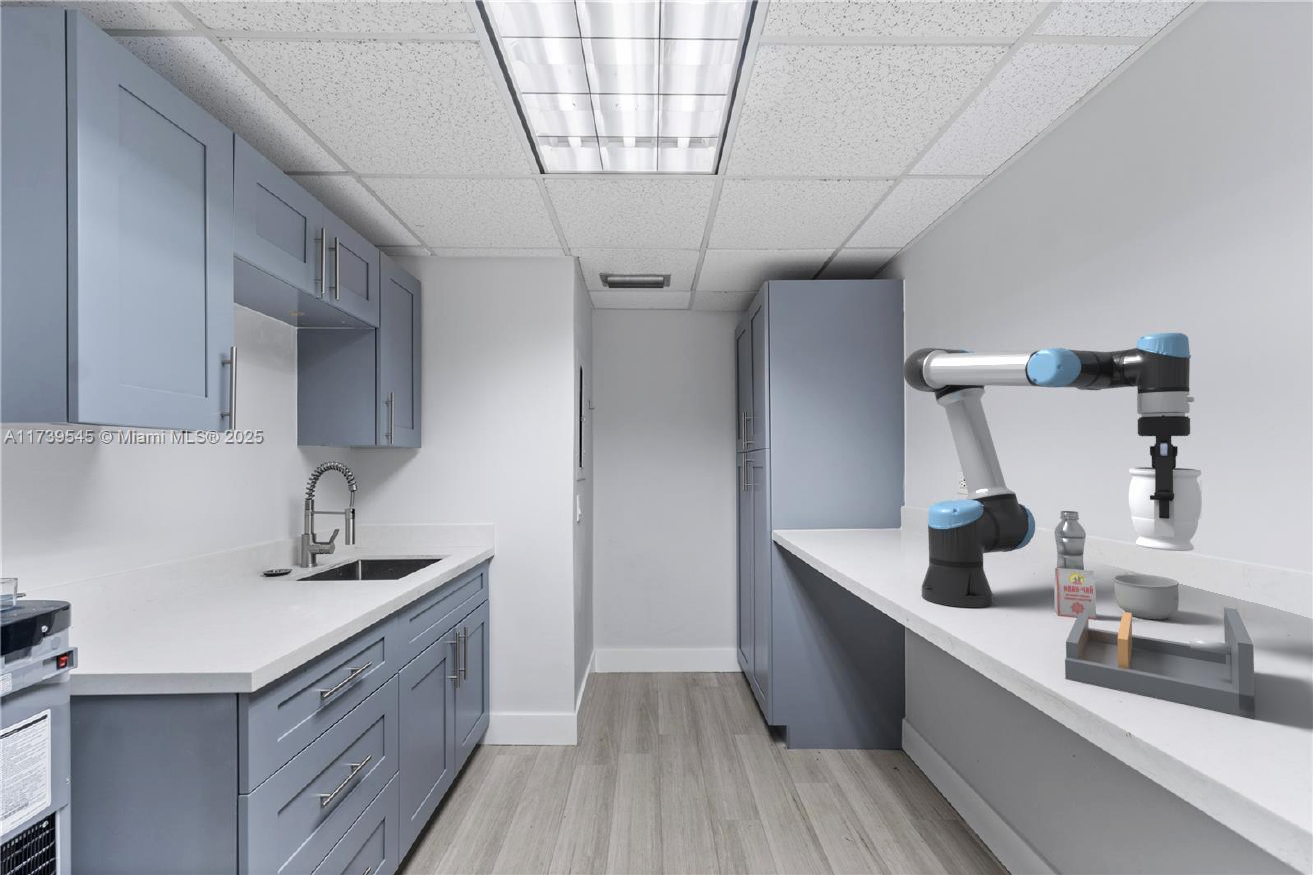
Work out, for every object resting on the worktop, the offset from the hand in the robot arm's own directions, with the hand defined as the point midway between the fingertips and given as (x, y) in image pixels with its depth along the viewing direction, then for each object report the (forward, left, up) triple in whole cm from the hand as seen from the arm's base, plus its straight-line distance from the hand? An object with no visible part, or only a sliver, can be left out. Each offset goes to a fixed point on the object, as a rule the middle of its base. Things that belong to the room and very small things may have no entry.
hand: (1163, 532), depth 110 cm
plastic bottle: (-18, +32, -20) cm, 42 cm away
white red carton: (-15, +8, -21) cm, 26 cm away
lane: (-2, -23, -20) cm, 31 cm away
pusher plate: (-5, -23, -19) cm, 30 cm away
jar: (0, 0, -3) cm, 3 cm away
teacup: (-4, +19, -21) cm, 28 cm away
